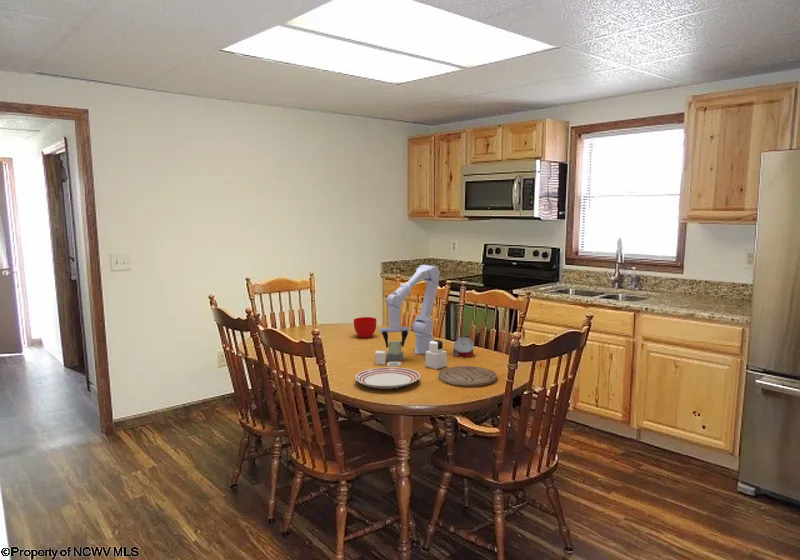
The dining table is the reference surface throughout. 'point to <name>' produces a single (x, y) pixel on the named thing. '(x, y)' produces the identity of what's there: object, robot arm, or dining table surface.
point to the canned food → (463, 347)
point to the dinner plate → (387, 377)
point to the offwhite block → (380, 357)
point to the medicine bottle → (436, 355)
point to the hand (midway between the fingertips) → (394, 346)
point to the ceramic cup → (365, 326)
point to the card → (394, 363)
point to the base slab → (394, 357)
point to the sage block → (395, 347)
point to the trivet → (467, 376)
